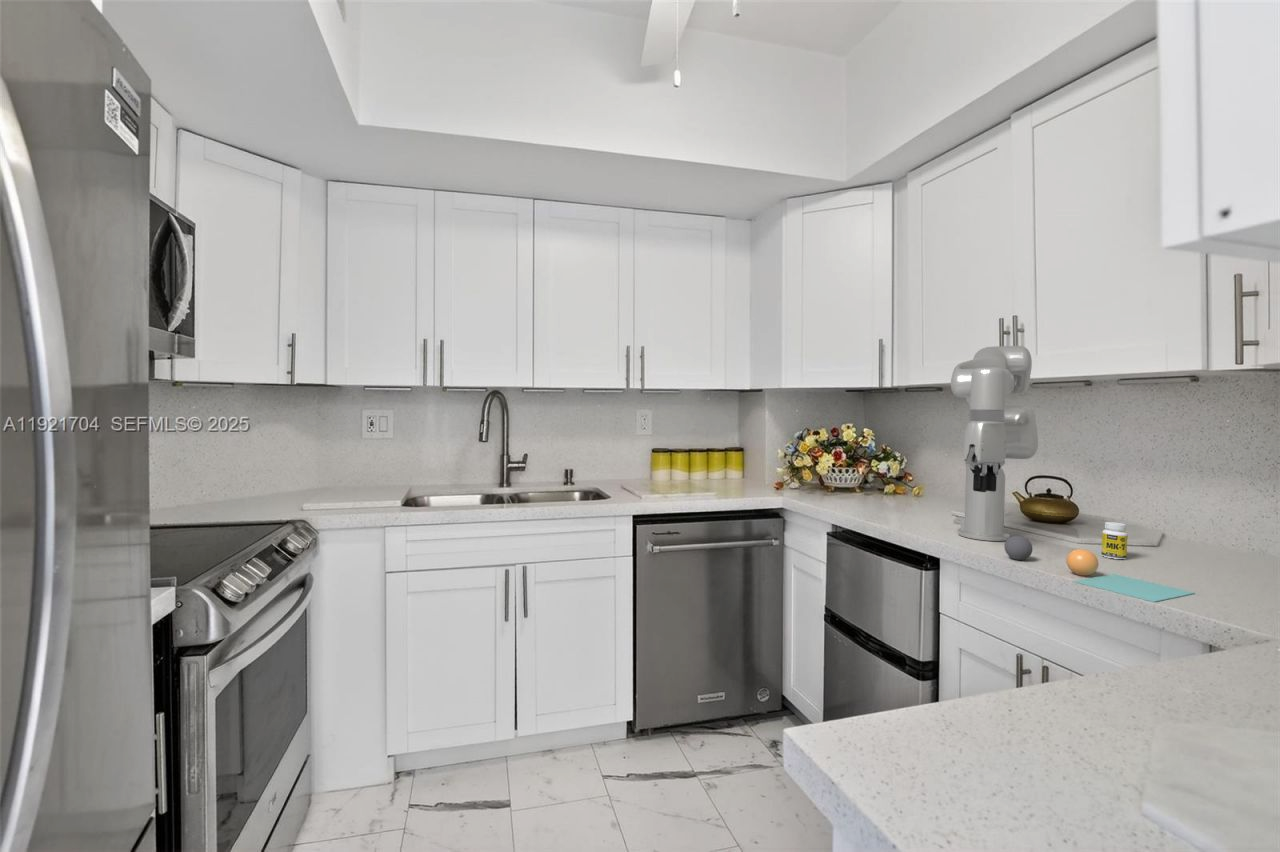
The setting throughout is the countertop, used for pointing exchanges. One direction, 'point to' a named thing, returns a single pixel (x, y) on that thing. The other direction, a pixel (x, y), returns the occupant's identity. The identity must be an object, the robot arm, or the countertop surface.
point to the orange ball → (1082, 562)
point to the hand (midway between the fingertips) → (984, 490)
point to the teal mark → (1135, 587)
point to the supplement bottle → (1114, 540)
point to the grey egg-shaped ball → (1018, 547)
